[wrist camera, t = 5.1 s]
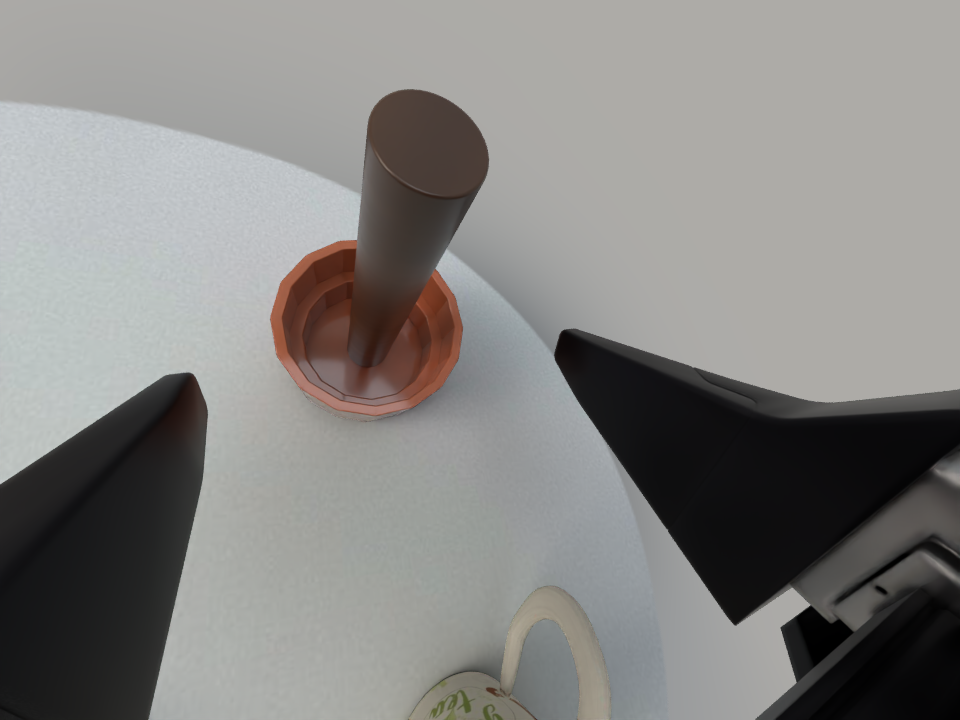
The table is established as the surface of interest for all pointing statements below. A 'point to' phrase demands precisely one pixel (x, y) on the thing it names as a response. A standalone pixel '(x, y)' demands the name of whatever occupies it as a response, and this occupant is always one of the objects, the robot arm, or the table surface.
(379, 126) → the stick
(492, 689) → the mug
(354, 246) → the bowl
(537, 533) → the table surface
